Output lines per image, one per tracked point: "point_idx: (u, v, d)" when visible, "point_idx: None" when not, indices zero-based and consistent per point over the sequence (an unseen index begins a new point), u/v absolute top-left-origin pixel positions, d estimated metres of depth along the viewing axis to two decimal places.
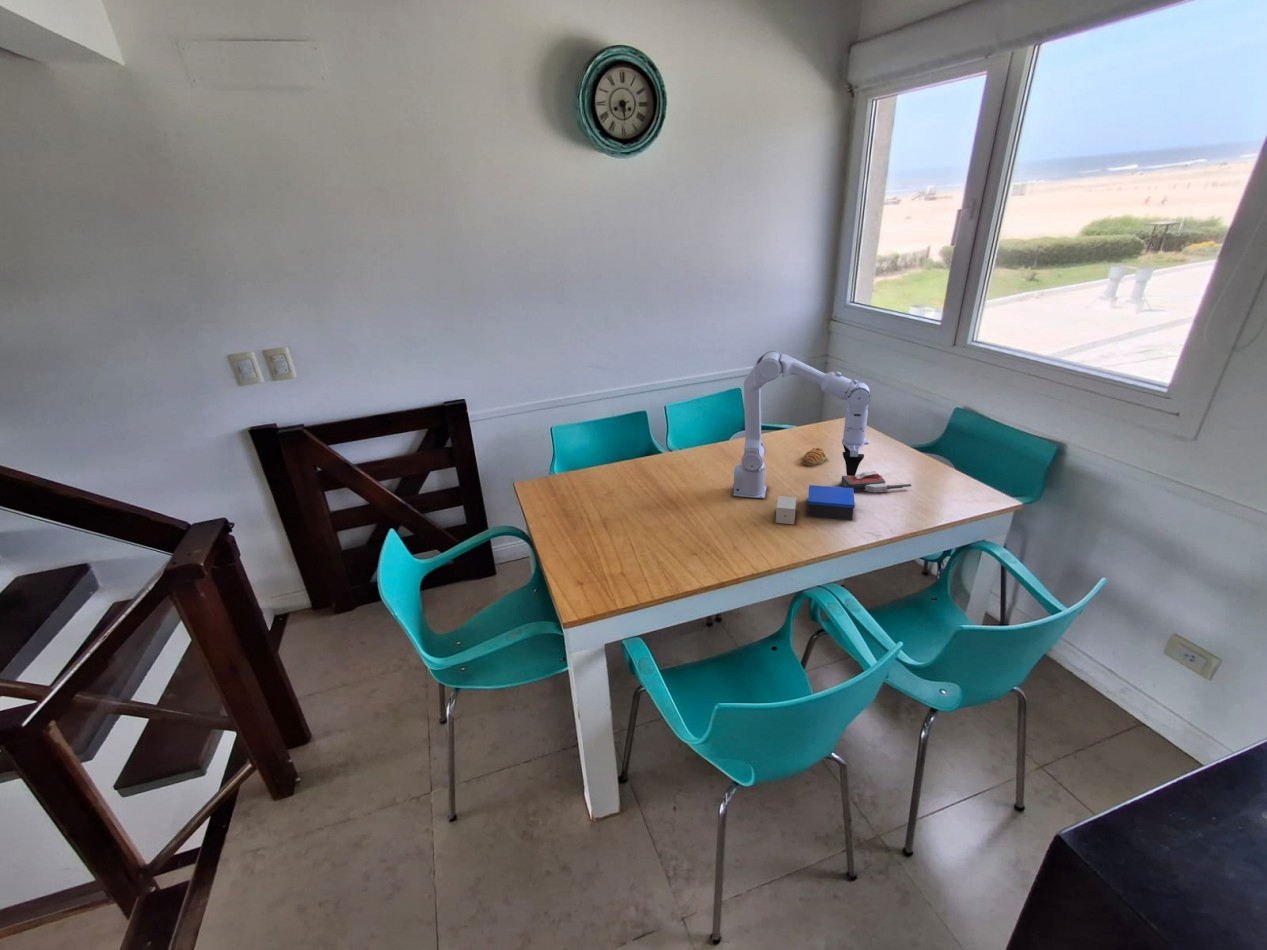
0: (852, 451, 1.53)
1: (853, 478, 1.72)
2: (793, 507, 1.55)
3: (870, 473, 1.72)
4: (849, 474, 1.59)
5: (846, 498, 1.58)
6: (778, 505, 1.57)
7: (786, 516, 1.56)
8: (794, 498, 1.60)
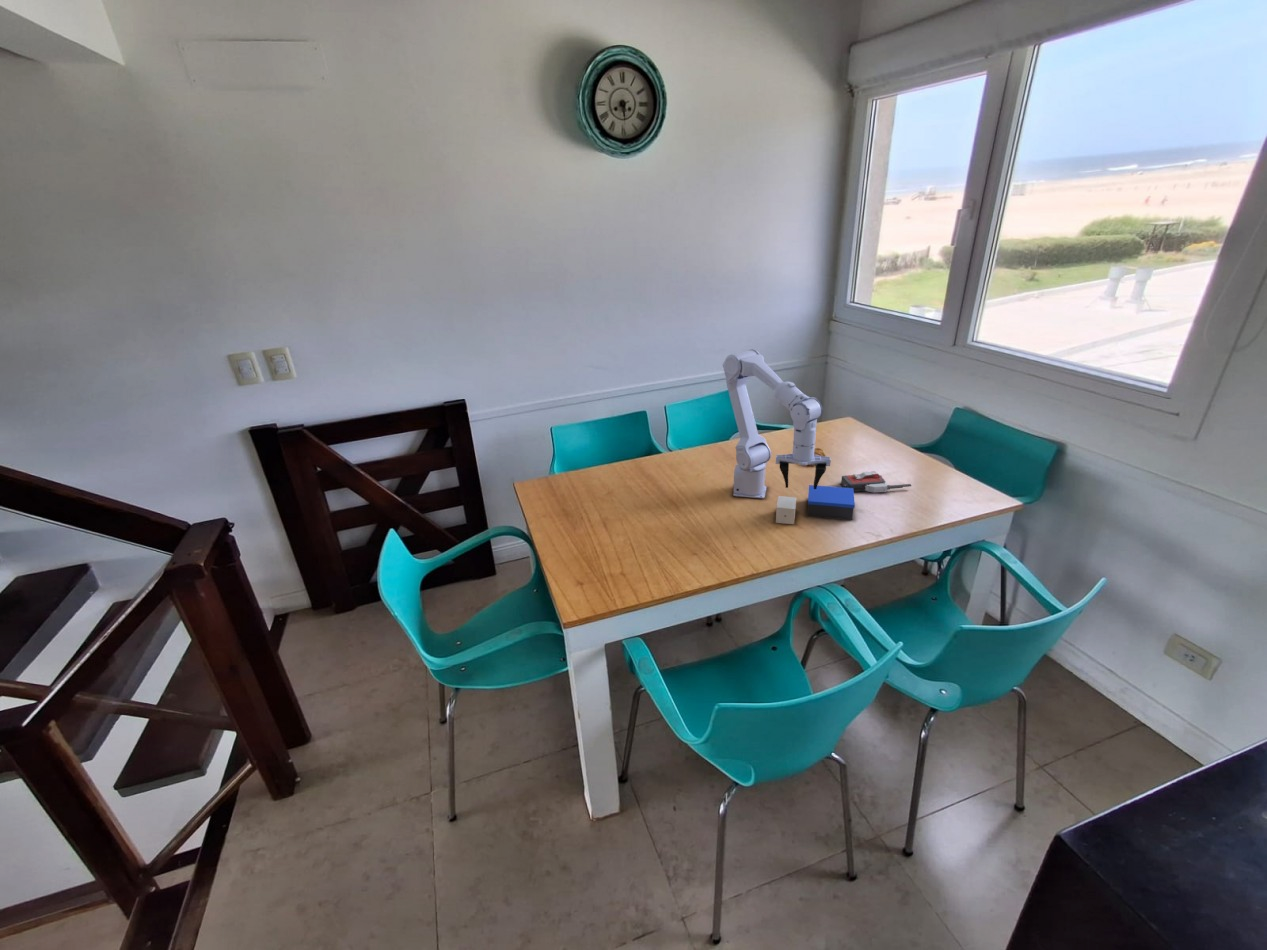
0: (776, 456, 1.56)
1: (853, 478, 1.72)
2: (793, 507, 1.55)
3: (870, 473, 1.72)
4: None
5: (846, 498, 1.58)
6: (778, 505, 1.57)
7: (786, 516, 1.56)
8: (794, 498, 1.60)
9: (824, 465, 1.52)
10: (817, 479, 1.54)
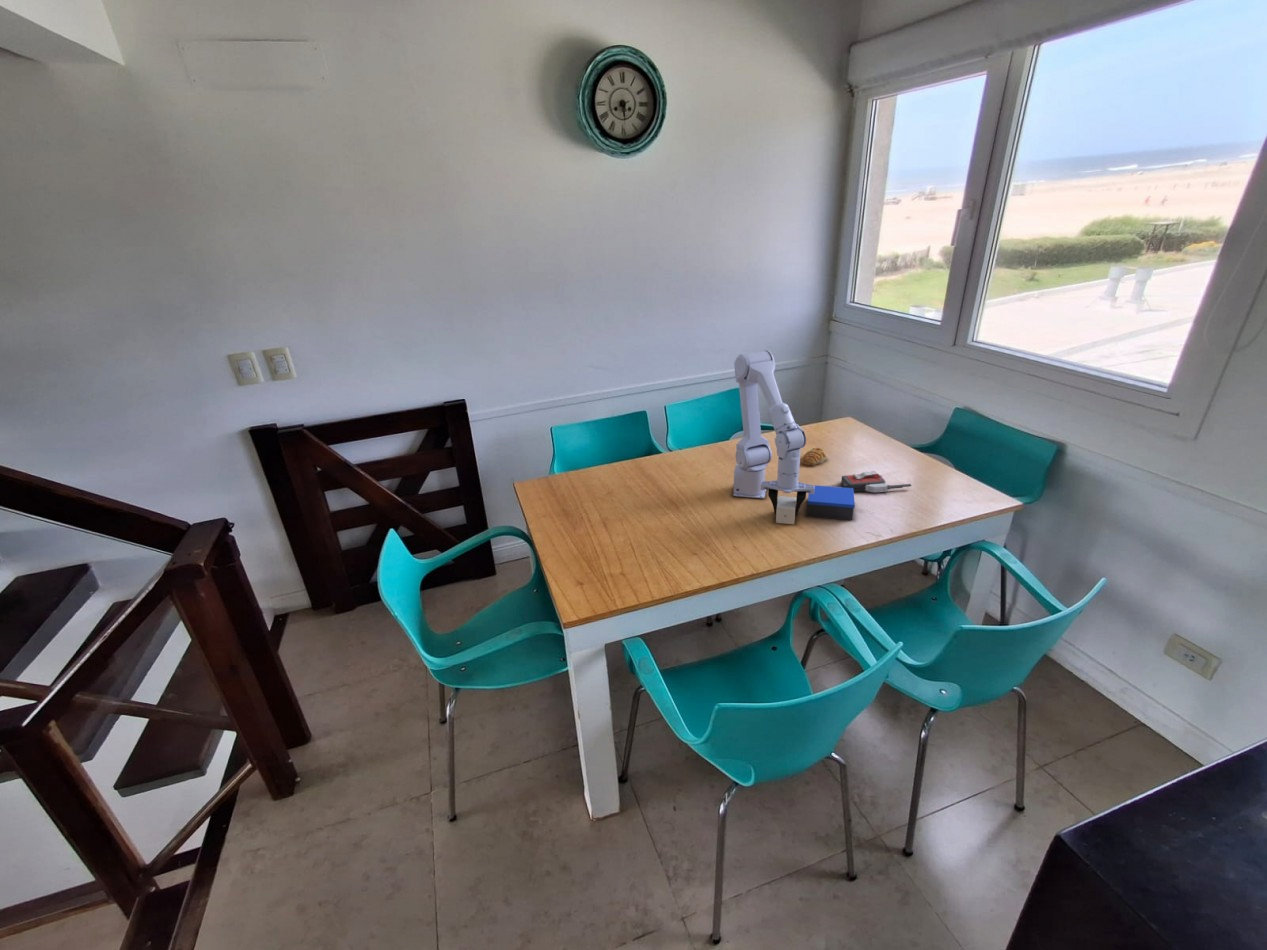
0: (761, 482, 1.58)
1: (853, 478, 1.72)
2: (793, 507, 1.55)
3: (870, 473, 1.72)
4: None
5: (846, 498, 1.58)
6: (778, 505, 1.57)
7: (786, 516, 1.56)
8: (794, 498, 1.60)
9: (804, 493, 1.54)
10: (797, 506, 1.56)
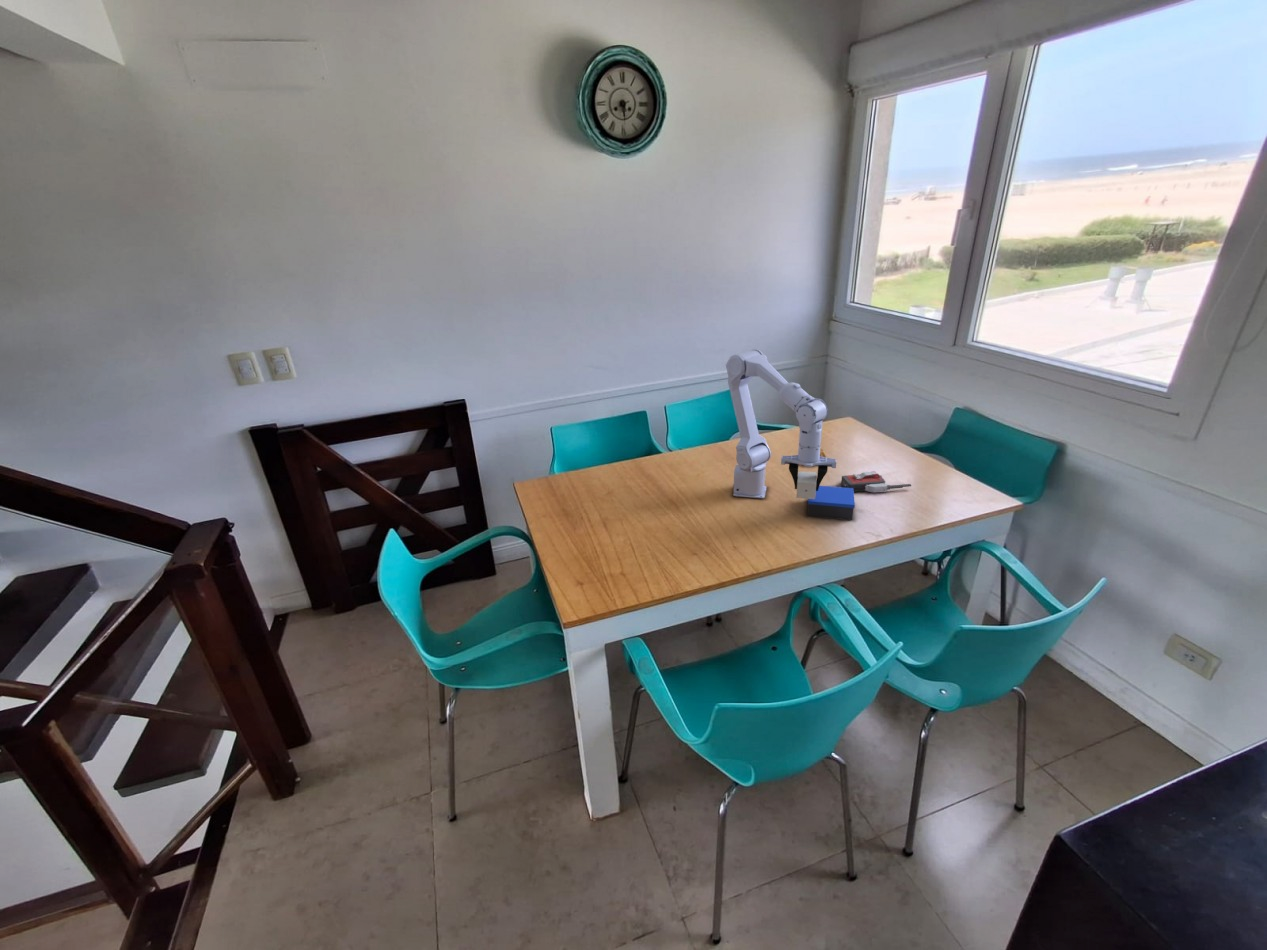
0: None
1: (853, 478, 1.72)
2: (814, 482, 1.53)
3: (870, 473, 1.72)
4: None
5: (846, 498, 1.58)
6: (799, 480, 1.54)
7: (807, 491, 1.54)
8: (815, 473, 1.57)
9: (826, 467, 1.52)
10: (818, 481, 1.54)
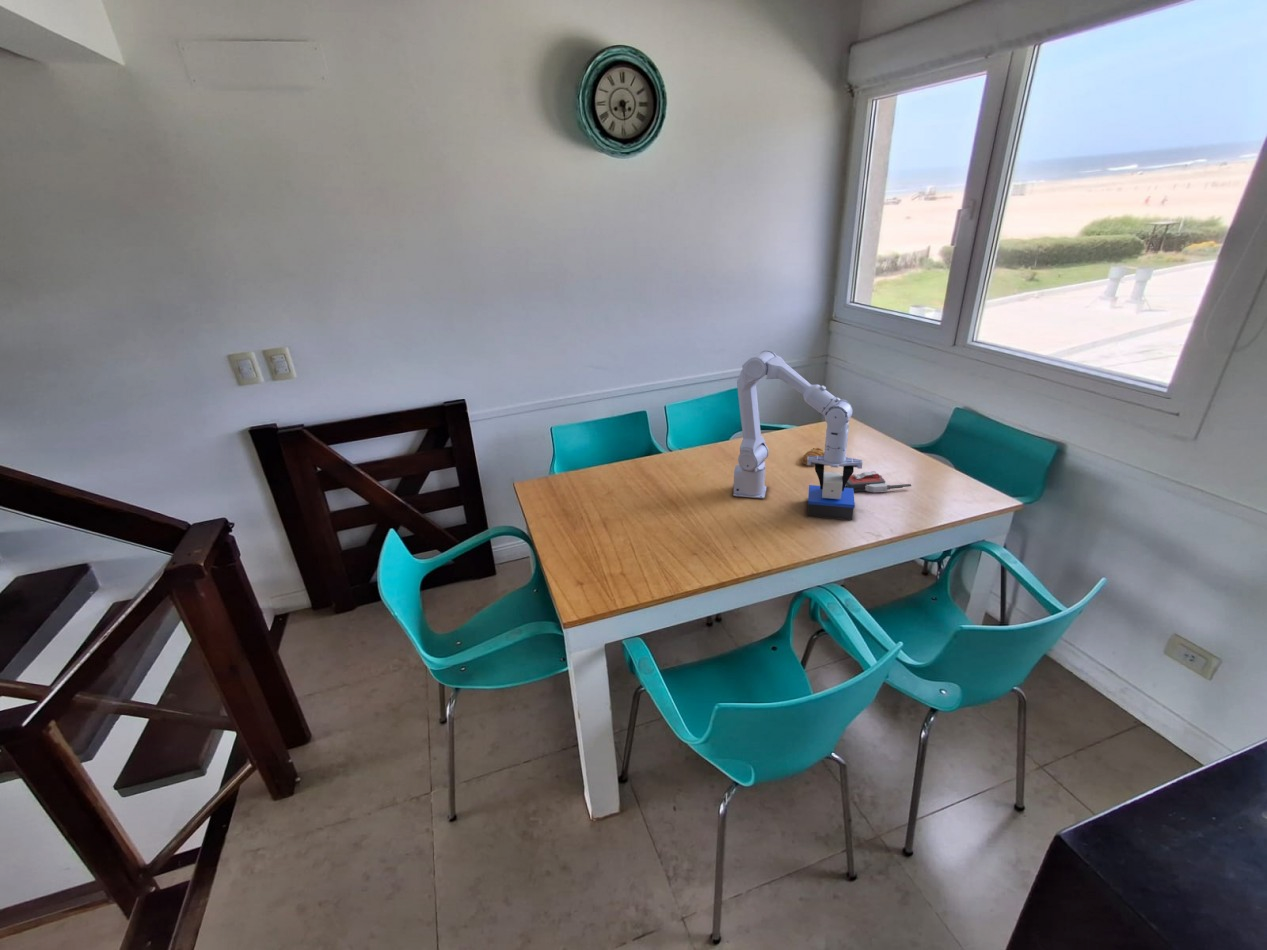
0: (807, 458, 1.58)
1: (853, 478, 1.72)
2: (840, 482, 1.55)
3: (870, 473, 1.72)
4: None
5: (846, 498, 1.58)
6: (825, 480, 1.56)
7: (833, 491, 1.56)
8: (840, 473, 1.60)
9: (852, 467, 1.54)
10: (844, 481, 1.56)
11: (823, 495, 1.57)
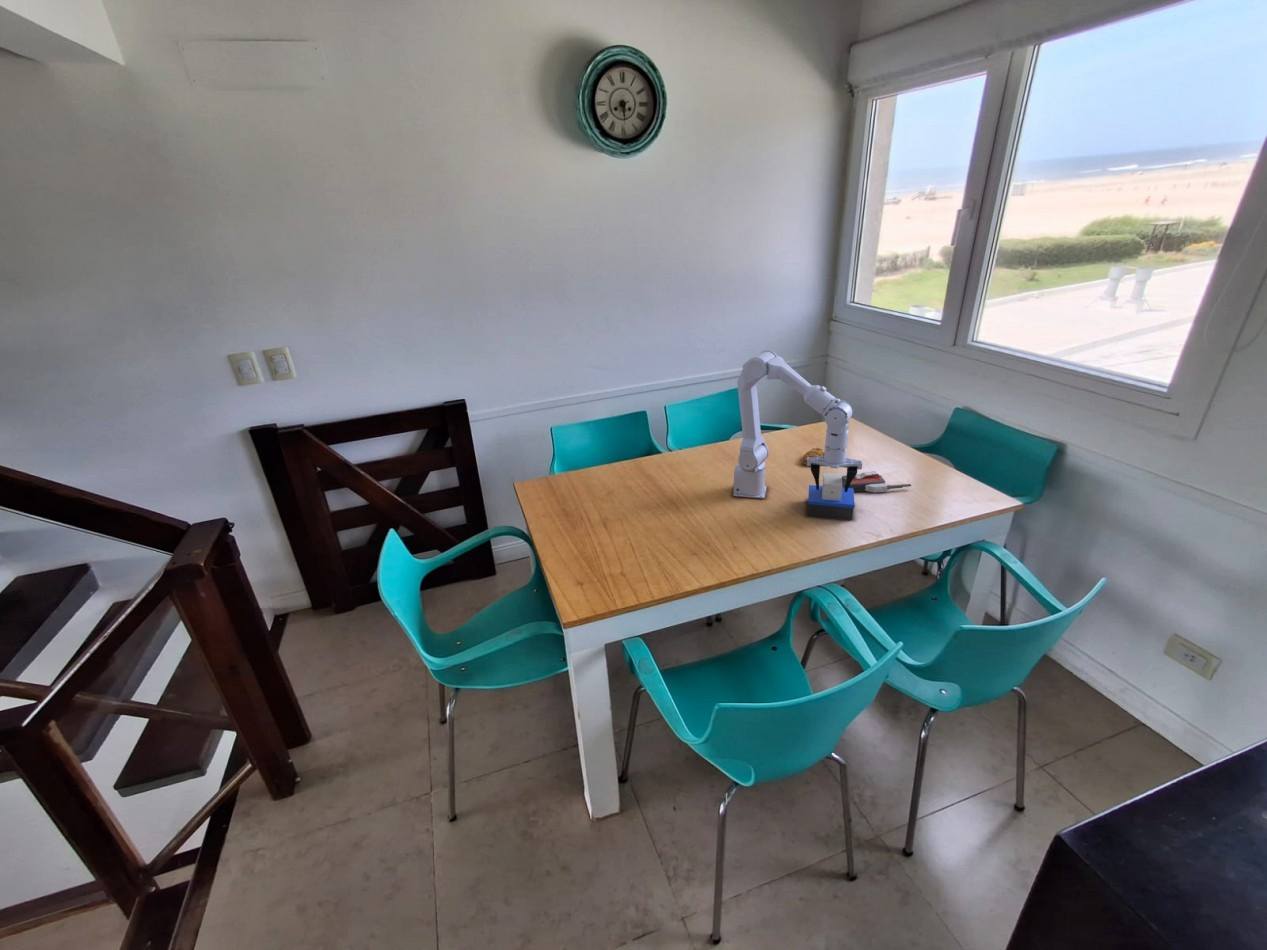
0: (807, 458, 1.58)
1: None
2: (840, 483, 1.55)
3: (870, 473, 1.72)
4: None
5: (846, 498, 1.58)
6: (825, 482, 1.57)
7: (833, 492, 1.56)
8: (840, 475, 1.60)
9: (855, 468, 1.54)
10: (848, 482, 1.55)
11: (823, 497, 1.58)
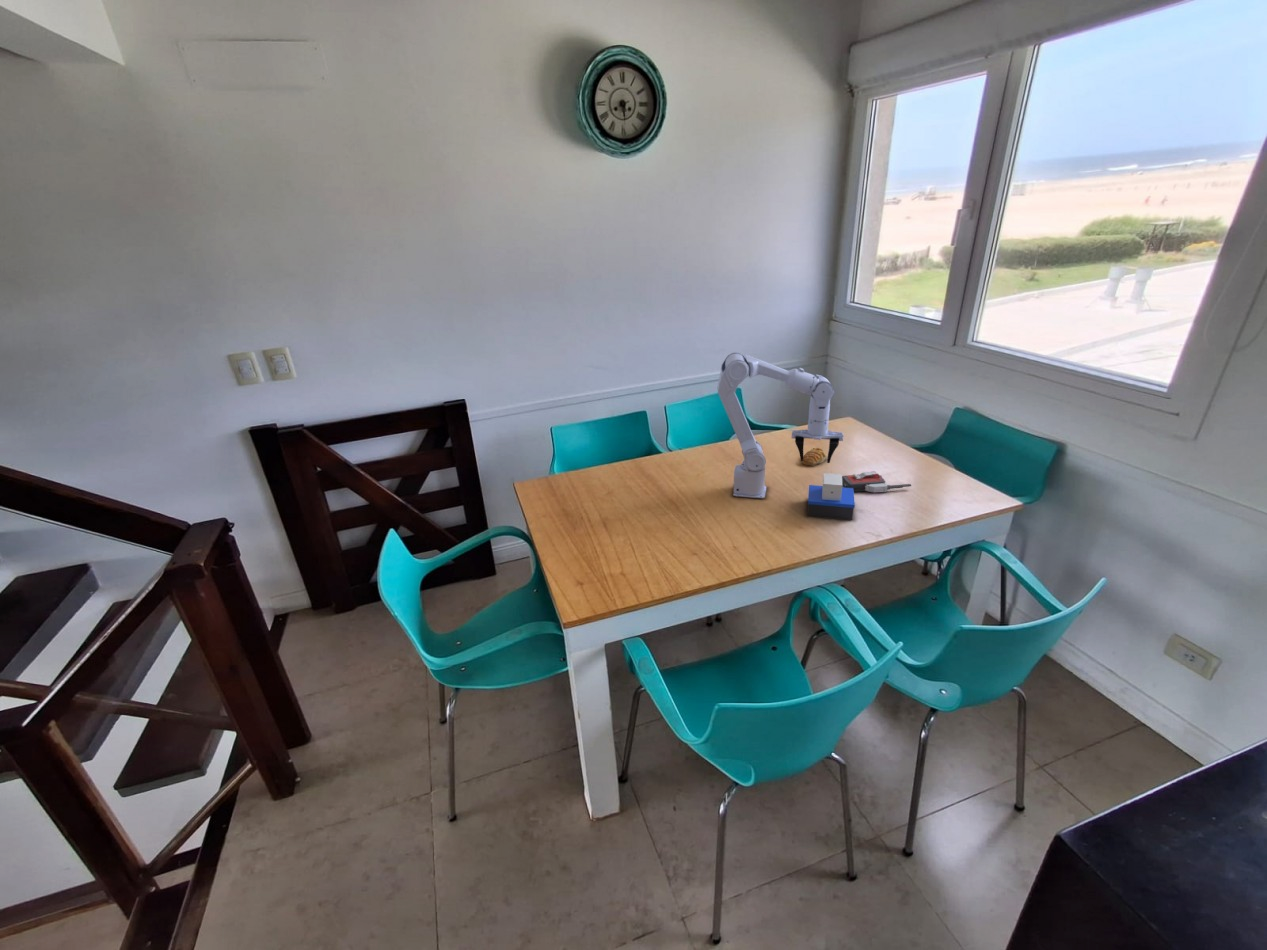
0: (792, 431, 1.68)
1: (853, 478, 1.72)
2: (840, 483, 1.55)
3: (870, 473, 1.72)
4: None
5: (846, 498, 1.58)
6: (825, 482, 1.57)
7: (833, 492, 1.56)
8: (840, 475, 1.60)
9: (837, 440, 1.63)
10: (830, 453, 1.65)
11: (823, 497, 1.58)
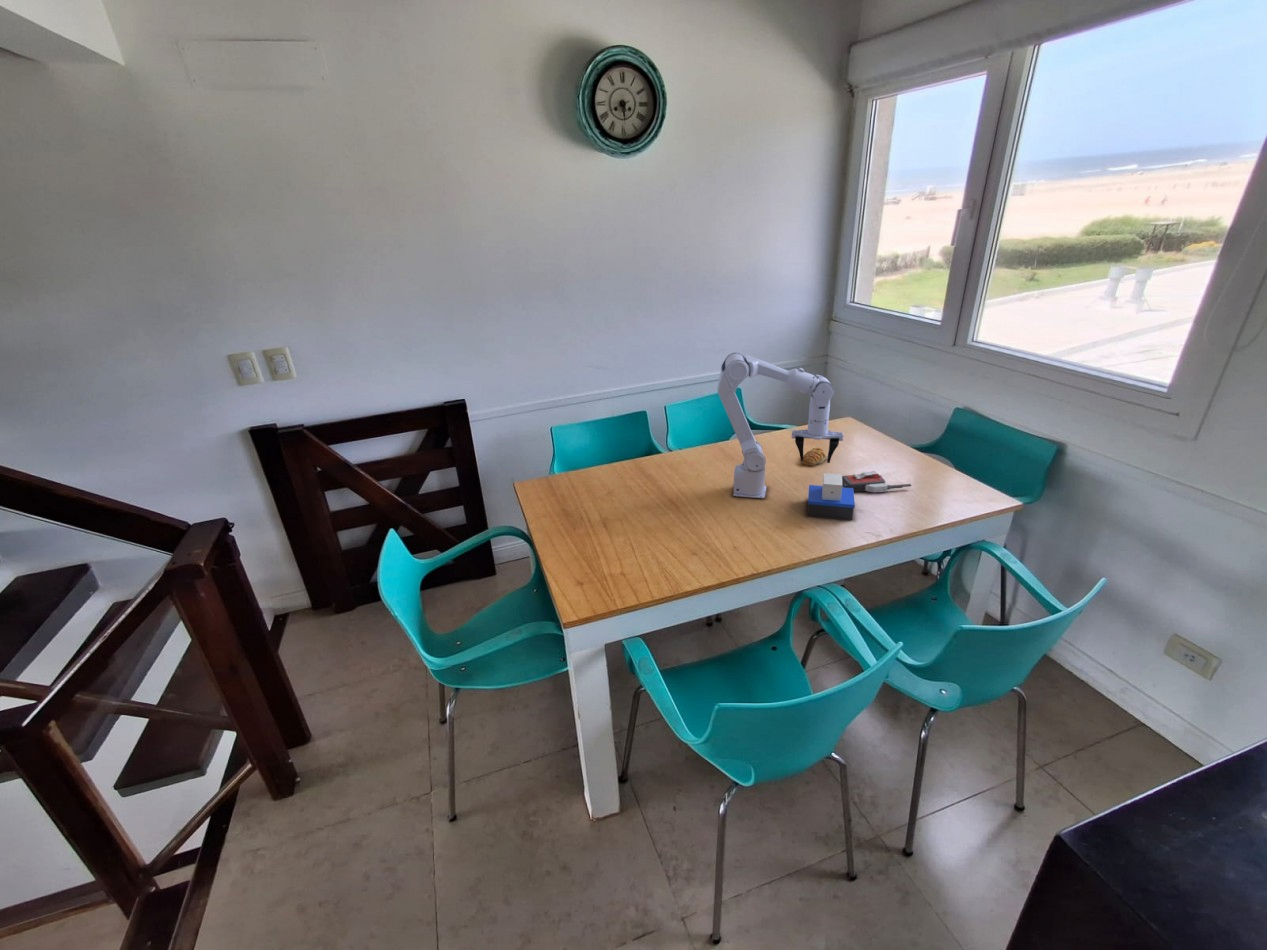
0: (792, 431, 1.68)
1: (853, 478, 1.72)
2: (840, 483, 1.55)
3: (870, 473, 1.72)
4: None
5: (846, 498, 1.58)
6: (825, 482, 1.57)
7: (833, 492, 1.56)
8: (840, 475, 1.60)
9: (837, 440, 1.63)
10: (830, 453, 1.65)
11: (823, 497, 1.58)
